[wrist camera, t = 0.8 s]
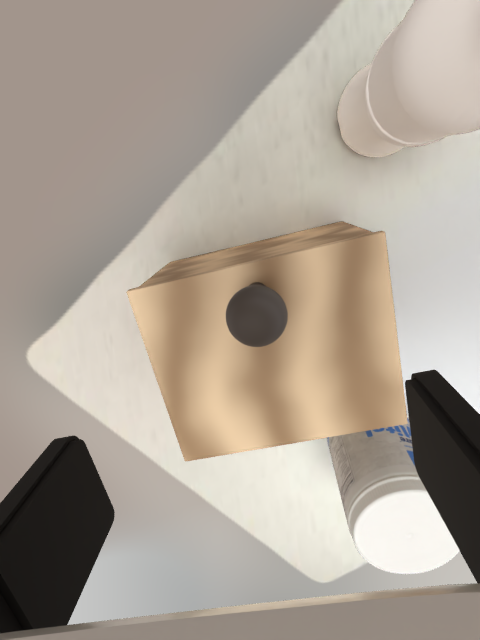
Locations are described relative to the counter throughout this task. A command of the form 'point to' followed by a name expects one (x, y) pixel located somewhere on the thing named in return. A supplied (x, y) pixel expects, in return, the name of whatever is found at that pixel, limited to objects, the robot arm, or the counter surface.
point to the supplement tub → (389, 502)
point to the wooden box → (257, 251)
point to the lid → (276, 348)
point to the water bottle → (417, 82)
